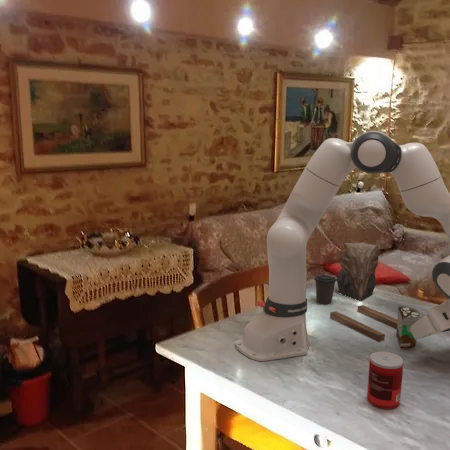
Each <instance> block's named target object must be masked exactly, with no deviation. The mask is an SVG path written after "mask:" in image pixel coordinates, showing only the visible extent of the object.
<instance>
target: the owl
mask: <svg viewBox="0 0 450 450" xmlns="http://www.w3.org/2000/svg"><path fill="white" fill-rule="evenodd" d="M378 251H379V245H378V244H377V243H376V244H372V243H369V242H365V241H364V242H363V241H362V242H358V243H357V242H355V243H352V242H344V243H343V250H342V252H340V257H339V265H340V267H341V268H340V270H339V271H338V275H337V277H336V280H337V281H336V283H337V288H338V289H337V290H338V294H339V293H341V294H343V295H342V296H345V295H346V296H345V297H347V296H348V297H347V298H350V297H351V298H350V299H352V298H353V299H352V300H355V299H356V301H358V300H359V301H358V302H363V301H364V300H366V299H367V298H369V297H371V296H373V292H374V290H375V288H376V283H377V280H376V275H375V274H376V273H375V272H376V269H377V268H378V265H379V255H378ZM341 294H340V295H341ZM362 300H363V301H362Z"/></svg>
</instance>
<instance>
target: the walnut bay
mask: <svg viewBox="0 0 450 450" xmlns="http://www.w3.org/2000/svg"><path fill="white" fill-rule="evenodd" d="M357 312H358V313H360V314H361V315H364V316H366V317H369V318H370V319H374V320H376V321H378V322H380V323H382V324H384V325H386V326H388V327H391V328H393V329H395V330H397V319H398V318H395V317H392V316H390V315H387V314H385V313H383V312H381V311H378V310H375V309H373V308H371V307H369V306H367V305H363V304H361V305H358V306H357ZM329 313H330V314H329V318H330V319H331V320H334V321H335V322H338V323H340V324H342V325H343V326H345V327H347V328H350V329H352V330H354V331H356V332H358V333H360V334H362V335H363V336H366V337H369V338H370V339H373V340H374V341H376V342H379V343H380V342H383V341H385V339H386V338H385V336H386V334H385V333H383V332H381V331H379V330H377V329H375V328H373V327H370V326H368V325H366V324H365V323H362V322H360V321H358V320H356V319H354V318H351V317H349V316H347V315H345V314H343V313H341V312H339V311H337V310H336V311H331V312H329Z"/></svg>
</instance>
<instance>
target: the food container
mask: <svg viewBox="0 0 450 450" xmlns="http://www.w3.org/2000/svg"><path fill="white" fill-rule="evenodd" d="M421 318H422V314H421V311H420V310H419V309H417V308H416V307H415V308H414V307H412V306H410V305H404V304H398V306H397V318H396V319H397V329H396V340H397V343H398V346H399V349H404V350H405V349H406V350H407V349H411V348H414V347H415V346H416V343H417V339H415V338H414V337H413V335H412V333H411V331H410V327H411V326H412V325H413V324H414V323H416V322H417V321H418V320H419V319H421Z"/></svg>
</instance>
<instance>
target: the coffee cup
mask: <svg viewBox="0 0 450 450" xmlns="http://www.w3.org/2000/svg"><path fill="white" fill-rule="evenodd" d="M313 279H314V281H315V293H316V295H315V297H316V303H317V304H318V305H322V304H323V305H324V306H325V305H326V306H327V305H328V304H329V305H332V302H333V297H334V292H335V291H334V290H335V284H336V283H337V280H336V279H337V277H334V276H332V275H328V274H319V275H316V276H315V277H314V278H313Z"/></svg>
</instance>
